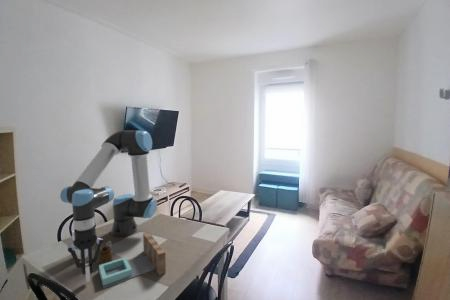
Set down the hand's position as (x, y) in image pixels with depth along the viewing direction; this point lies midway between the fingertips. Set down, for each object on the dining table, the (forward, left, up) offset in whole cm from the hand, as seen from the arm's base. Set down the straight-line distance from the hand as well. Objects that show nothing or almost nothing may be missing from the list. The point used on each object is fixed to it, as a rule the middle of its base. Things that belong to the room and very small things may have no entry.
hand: (87, 279), depth 98 cm
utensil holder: (-13, +9, -2) cm, 16 cm away
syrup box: (-25, 0, -2) cm, 25 cm away
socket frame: (0, +11, -2) cm, 11 cm away
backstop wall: (0, +28, -2) cm, 28 cm away
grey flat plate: (0, +16, -2) cm, 16 cm away
